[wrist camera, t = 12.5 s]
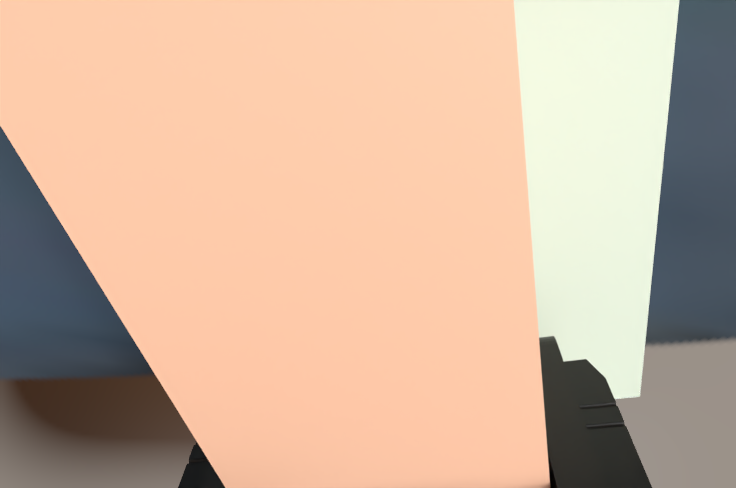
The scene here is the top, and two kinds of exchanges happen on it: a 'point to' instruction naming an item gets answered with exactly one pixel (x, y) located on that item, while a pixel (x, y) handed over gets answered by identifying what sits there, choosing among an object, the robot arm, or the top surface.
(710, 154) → the top surface
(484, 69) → the peach rectangular slab
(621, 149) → the mat
